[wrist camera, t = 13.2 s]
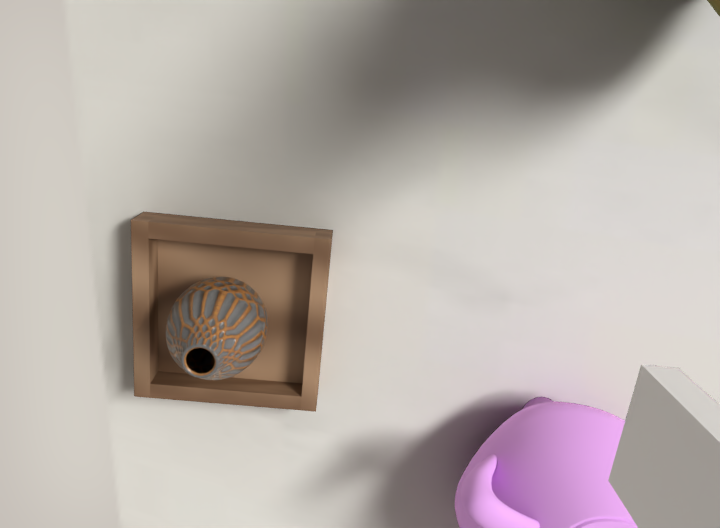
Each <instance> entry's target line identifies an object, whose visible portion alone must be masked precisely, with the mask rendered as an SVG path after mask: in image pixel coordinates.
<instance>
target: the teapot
mask: <svg viewBox="0 0 720 528" xmlns="http://www.w3.org/2000/svg"><path fill="white" fill-rule="evenodd" d="M624 423H625V421H624V420H622V419H621V418H619V417H617V416H615V415H613V414H610V413H608V412H605V411H603V410H600V409H596V408H593V407H590V406H585V405H580V404H575V403H565V402H553V401H552V400H551V399H549V398H545V397H537V398H534V399H532V400H530V401H528V402H527V403H526V404H525V406H524V407H523V409H522V410H520V411H518V412H517V413H515V414H514V415H512V416H511V417H510V418H509V419H507V420H506V421H505V422H504V423H503V424H501V425H500V426H499V427H498V428H497V429H496V430H495V431H494V432H493V433H492V434H491V435H490V436H489V438H488V439H487V440H486V441H485V442H484V443H483V444H482V446H481V447H480V448H479V450H478V451H477V452H476V454H475V455H474V456H473V458H472V459H471V461H470V463H469V464H468V466H467V467H466V469H465V471H464V473H463V475H462V477H461V479H460V481H459V483H458V486H457V490H456V495H455V512H456V517H457V521H458V524H459V527H460V528H638V527H637V525H636V523H635V522H634V520H633V519H632V517H631V516H630V514H629V512H628V511H627V509H626V508H625V506H624V505H623V503H622V501H621V500H620V498H619V497H618V495H617V494H616V492H615V490H614V489H613V487H612V486H611V484H610V483H609V481H608V479H609V476H610V472H611V469H612V465H613V462H614V458H615V455H616V451H617V448H618V444H619V441H620V437H621V434H622V430H623V427H624Z"/></svg>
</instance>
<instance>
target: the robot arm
mask: <svg viewBox="0 0 720 528" xmlns="http://www.w3.org/2000/svg"><path fill="white" fill-rule="evenodd" d="M608 481H609V483H610V484H611V486H612V487H613V489H614V490H615V492H616V494H617V495H618V497H619V498H620V500H621V501H622V503H623V505H624V506H625V508H626V509H627V511H628V512H629V514H630V516H631V517H632V519H633V520H634V522H635V523H636V525H637V527H638V528H720V404H719V403H718V402H717V401H716V400H714V399H713V398H712V397H711V396H710V395H709V394H708V393H707V392H705V391H704V390H703V389H702V388H701V387H700V386H699V385H698V384H696V383H695V382H694V381H693V380H692V379H691V378H690V377H689V376H688V375H686V374H685V373H684V372H683V371H682V370H681V369H680V368H674V367H663V366H652V365H641V367H640V371H639V374H638V378H637V381H636V385H635V388H634V392H633V395H632V399H631V402H630V406H629V409H628V413H627V416H626V420H625V423H624V427H623V430H622V434H621V437H620V441H619V444H618V448H617V451H616V455H615V458H614V462H613V465H612V469H611V472H610V476H609V479H608Z"/></svg>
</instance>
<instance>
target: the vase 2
mask: <svg viewBox="0 0 720 528" xmlns="http://www.w3.org/2000/svg"><path fill="white" fill-rule="evenodd" d="M707 1H708V2H709V3H710V5H711V6H712V7H713V8H714V10H715V11H716V12H717V14H718V15H719V16H720V0H707Z"/></svg>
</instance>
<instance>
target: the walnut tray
mask: <svg viewBox="0 0 720 528" xmlns="http://www.w3.org/2000/svg"><path fill="white" fill-rule="evenodd" d="M332 233H333V230H325V229H315V228H305V227H295V226H284V225H274V224H264V223H254V222H243V221H233V220H223V219H212V218H202V217H192V216H182V215H171V214H161V213H151V212H143V213H141V214H140V215H138V216H137V217H135V218H134V219H132V220H131V251H132V300H133V350H134V396H137V397H149V398H161V399H173V400H185V401H197V402H209V403H221V404H233V405H245V406H257V407H269V408H281V409H293V410H305V411H316V405H317V395H318V385H319V374H320V363H321V352H322V341H323V331H324V320H325V309H326V298H327V287H328V276H329V266H330V255H331V244H332ZM211 277H230V278H234V279H237V280H240V281H242V282H244V283H246V284H247V285H249V286H250V287H251V288H252V289H254V290H255V292H256V293H257V294H258V295H259V297H260V298H261V300H262V302H263V304H264V306H265V309H266V312H267V317H268V330H267V336H266V340H265V343H264V345H263V348H262V350H261V352H260V353H259V355H258V356H257V358H256V359H255V360H254V361H253V362H252V363H251V364H250V365H249V366H248V367H247V368H246V369H244V370H243V371H242V372H240V373H238V374H236V375H234V376H232V377H229V378H226V379H222V380H205V379H200V378H197V377H193V376H191V375H190V374H188V373H187V372H185V371H184V370H183V369H182V368H180V367H179V366H178V364H177V363H176V362H175V361H174V359H173V358H172V356H171V354H170V352H169V349H168V346H167V341H166V324H167V319H168V315H169V313H170V310H171V308H172V306H173V305H174V303H175V301H176V300H177V299H178V298H179V296H180V295H181V294H182V293H183V292H184V291H185V290H186V289H188V288H189V287H190V286H192V285H193V284H195V283H197V282H199V281H201V280H204V279H207V278H211Z"/></svg>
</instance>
